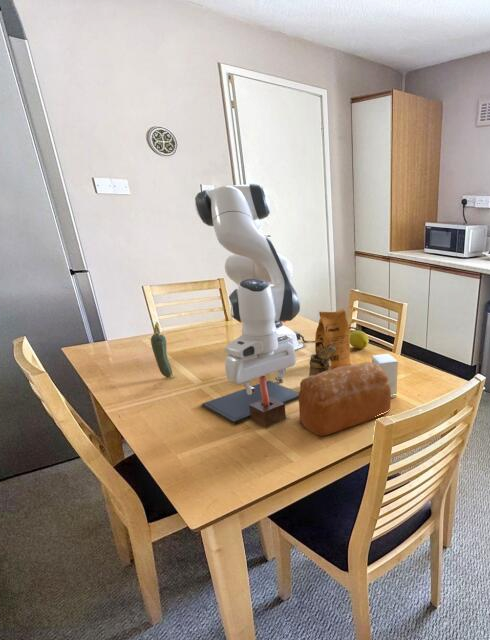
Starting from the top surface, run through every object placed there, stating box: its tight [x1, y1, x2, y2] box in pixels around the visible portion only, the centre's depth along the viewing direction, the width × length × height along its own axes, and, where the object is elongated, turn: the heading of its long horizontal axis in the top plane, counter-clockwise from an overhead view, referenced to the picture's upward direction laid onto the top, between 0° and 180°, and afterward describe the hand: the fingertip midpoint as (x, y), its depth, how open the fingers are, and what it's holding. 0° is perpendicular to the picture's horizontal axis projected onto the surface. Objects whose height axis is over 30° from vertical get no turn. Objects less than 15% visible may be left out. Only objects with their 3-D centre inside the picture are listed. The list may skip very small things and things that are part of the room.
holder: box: [249, 397, 287, 429], centre depth 118 cm, size 7×7×5 cm
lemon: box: [349, 330, 370, 350], centre depth 180 cm, size 11×8×8 cm
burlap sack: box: [308, 345, 336, 377], centre depth 137 cm, size 9×14×18 cm, turn 35°
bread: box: [298, 361, 391, 437], centre depth 120 cm, size 14×26×16 cm, turn 133°
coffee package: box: [314, 308, 351, 370], centre depth 157 cm, size 10×12×22 cm
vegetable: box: [150, 321, 174, 379], centre depth 137 cm, size 4×4×20 cm
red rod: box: [258, 375, 270, 407], centre depth 117 cm, size 2×2×14 cm
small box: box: [371, 353, 399, 399], centre depth 137 cm, size 8×6×13 cm
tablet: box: [201, 380, 299, 425], centre depth 129 cm, size 24×17×1 cm
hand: (265, 388), depth 115 cm, fingers open, 8 cm apart
